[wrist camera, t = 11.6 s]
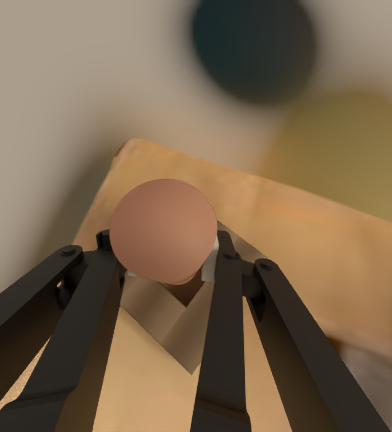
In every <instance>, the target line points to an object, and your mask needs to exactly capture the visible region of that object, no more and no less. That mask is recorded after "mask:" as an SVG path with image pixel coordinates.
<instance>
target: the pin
mask: <svg viewBox="0 0 392 432" xmlns="http://www.w3.org/2000/svg"><path fill="white" fill-rule="evenodd" d="M109 231H110V242H111V246H112V249H113V251H114V254H115V256H116V257H117V259H118V260H119V262H120V263H121V264H122V265H123V266H124V267H125V268H126V269H128V270H129V271H130V272H132V273H133V274H135V275H137V276H139V277H142V278H144V279H149V280H153V281H158V282H163V283H169V284H174V285H182V284H185V283H187V282H189V281H190V280H191V279H192V278H193V277H194V275H195V274H196V273H197V271H198V270H199V268H200V267H201V266H202V264H203V263H204V261H205V260H206V259H207V257H208V256H209V254H210V253H211V251H212V249H213V246H214V244H215V240H216V236H217V219H216V215H215V212H214V209H213V207H212V205H211V203H210V202H209V200H208V199H207V197H206V196H205V195H204V194H203V193H202V192H201V191H199V190H198V189H197V188H195V187H194V186H192V185H190V184H188V183H185V182H182V181H179V180H173V179H159V180H153V181H149V182H146V183H143V184H141V185H139V186H137V187H136V188H134V189H133V190H131V191H130V192H129V193H128V194H126V195H125V196H124V198H123V199H122V200H121V201H120V202H119V204H118V205H117V207H116V209H115V211H114V213H113V215H112V219H111V222H110V229H109Z"/></svg>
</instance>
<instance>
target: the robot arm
mask: <svg viewBox="0 0 392 432" xmlns="http://www.w3.org/2000/svg"><path fill="white" fill-rule="evenodd" d="M96 238H97V245H98V248H97V250H95V251H88V252H83V250H82V247H80V246H77V245H70V246H65V247H63V248H60V249H59V250H57V251H56V252H54V253H53V254H52V255H51V256H49V257H48V258H46V259H45V260H44V261H42V262H41V263H40V264H38V265H37V266H36V267H35V268H33V269H32V270H31V271H29V272H28V273H27V274H25V275H24V276H23V277H21V278H20V279H19V280H17V281H16V282H15V283H13V284H12V285H11V286H10V287H8V288H7V289H5V290H4V291H3V292H2V293H0V401H1V400H2V398H3V397H4V396H5V394H6V393H7V392H8V391H9V389H10V388H11V387H12V385H13V384H14V383H15V382H16V380H17V379H18V378H19V376H20V375H21V374H22V373H23V371H24V370H25V369H26V367H27V366H28V365H29V364H30V362H31V361H32V360H33V359H34V357H35V356H36V355H37V353H38V352H39V351H40V350H41V348H42V347H43V346H44V344H45V343H46V342H47V341H48V339H49V338H50V337H51V338H50V340H49V342H48V343H47V345H46V347H45V349H44V351H43V353H42V355H41V357H40V359H39V361H38V362H37V364H36V366H35V368H34V370H33V372H32V374H31V376H30V378H29V380H28V382H27V383H26V385H25V387H24V389H23V391H22V392H21V394H20V395H19V396H18V398H17V399H16V400H14V401H12V402H9V403H7V404H6V405H5V406H4V407H3V408H2V409H1V410H0V432H92V430H93V424H94V420H95V415H96V411H97V406H98V402H99V397H100V393H101V388H102V384H103V379H104V374H105V370H106V365H107V361H108V356H109V352H110V347H111V343H112V338H113V334H114V329H115V325H116V320H117V316H118V311H119V307H120V302H121V298H122V293H123V288H124V284H125V273H126V271H127V269H126V268H125V267H124V266H123V265H122V264H121V263H120V262H119V260H118V259H117V257H116V256H115V254H114V251H113V249H112V246H111V242H110V231H109V230H104V231H101V232H99V233H98V234H97V235H96ZM201 273H202V281H211V282H213V281H214V277H215V282H214V288H213V294H212V300H211V306H210V312H209V318H208V324H207V331H206V337H205V343H204V349H203V355H202V361H201V367H200V374H199V380H198V386H197V392H196V398H195V404H194V410H193V416H192V422H191V428H190V432H252V431H251V422H250V417H249V415H248V413H247V410H246V396H245V364H244V332H243V300H242V296H245V297H246V299H247V302H248V305H249V308H250V311H251V314H252V317H253V319H254V322H255V325H256V328H257V331H258V334H259V337H260V340H261V342H262V345H263V348H264V351H265V354H266V357H267V360H268V363H269V366H270V368H271V371H272V374H273V377H274V380H275V383H276V386H277V389H278V391H279V394H280V397H281V400H282V403H283V406H284V409H285V412H286V414H287V417H288V420H289V423H290V426H291V429H292V432H391V431H390V430H389V428H388V427H387V426H386V424H385V423H384V421H383V420H382V418H381V417H380V415H379V414H378V412H377V411H376V409H375V408H374V406H373V405H372V403H371V402H370V401H369V399H368V398H367V396H366V395H365V393H364V392H363V390H362V389H361V387H360V386H359V384H358V383H357V381H356V380H355V378H354V377H353V375H352V374H351V373H350V371H349V370H348V368H347V367H346V365H345V364H344V362H343V361H342V359H341V358H340V356H339V355H338V353H337V352H336V350H335V349H334V348H333V346H332V345H331V343H330V342H329V340H328V339H327V337H326V336H325V334H324V333H323V331H322V330H321V328H320V327H319V325H318V324H317V322H316V321H315V320H314V318H313V317H312V315H311V314H310V312H309V311H308V309H307V308H306V306H305V305H304V303H303V302H302V300H301V299H300V297H299V296H298V295H297V293H296V292H295V290H294V289H293V287H292V286H291V284H290V283H289V281H288V280H287V278H286V277H285V275H284V274H283V272H282V271H281V270H280V268H279V267H278V265H277V264H276V263H275V262H273V261H271V260H269V259H265V258H258V259H256V260H255V263H251V262H248V261H245V260H243V259H241V256H240V254H239V253H238V252H236V251H235V248H234V245H233V242H232V239H231V236H230V234H229V233H228V232H227V231H222V230H217V236H216V240H215V244H214V246H213V249H212V251H211V253H210V254H209V256H208V257H207V259H206V260H205V261H204V263H203V264H202V266H201ZM128 276H137V275H135V274H133V273H132V272H130V271H129V270H128ZM138 277H139V276H138ZM60 281H61V283H62V284H61V285H60V286H59V287H57V285H58V283H59V282H60ZM51 335H52V336H51Z"/></svg>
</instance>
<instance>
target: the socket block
mask: <svg viewBox="0 0 392 432" xmlns="http://www.w3.org/2000/svg"><path fill="white" fill-rule="evenodd" d="M217 230H222V231H227V232H228V233H229V234H230V236H231V239H232V242H233V245H234V248H235V251H236V252H238V253H239V254H240V256H241V259H243V260H245V261H248V262H251V263H255V260H256V259H258V258H265V259H266V258H267V257H266V256H265V255H263V254H262V253H261V252H259V251H258V250H257V249H255V248H254V247H253V246H251V245H250V244H249V243H247V242H246V241H245V240H243V239H242V238H241V237H239V236H238V235H237V234H235V233H234V232H233V231H231V230H230V229H229V228H227V227H226V226H225V225H223V224H222V223H220V222H219V221H218V220H217ZM214 282H215V277H214V281H213V282H211V281H204V282H203V284H202V285H201V286H200V288H199V289H198V290H197V292H196V293H195V294H194V296H193V297H192V298H191V300H190V301H189V303H188V304H187V305H185V304H184V303H183V302H182V301H181V300H180V299H179V298H178V297H176V296H175V295H174V294H173V293H172V292H171V291H170V290H169V289H167V288H166V287H165V286H164V285H163V284H162V283H161V282H158V281H153V280H149V279H144V278H142V277H138V276H128V269H127V271H126V273H125V284H124V288H123V293H122V298H121V302H120V305H121V306H122V307H123V308H124V309H125V310H126V311H127V312H128V313H129V314H130V315H131V316H132V317H133V318H134V319H135V320H136V321H137V322H138V323H139V324H140V325H141V326H142V327H143V328H144V329H145V330H146V331H147V332H148V333H149V334H150V335H151V336H152V337H153V338H154V339H155V340H156V341H157V342H158V343H159V344H161V345H162V346H163V347H164V348H165V349H166V350H167V351H168V352H169V353H170V354H171V355H172V356H173V357H174V358H175V359H176V360H177V361H178V362H179V363H180V364H181V365H182V366H183V367H184V368H185V369H186V370H187V371H188V372H189V373H190V374H191V375H192V374H193V373H194V371H195V369H196V368H197V366H198V365H199V363H200V362H201V360H202V355H203V349H204V343H205V337H206V331H207V324H208V318H209V312H210V306H211V300H212V294H213V288H214Z"/></svg>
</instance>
